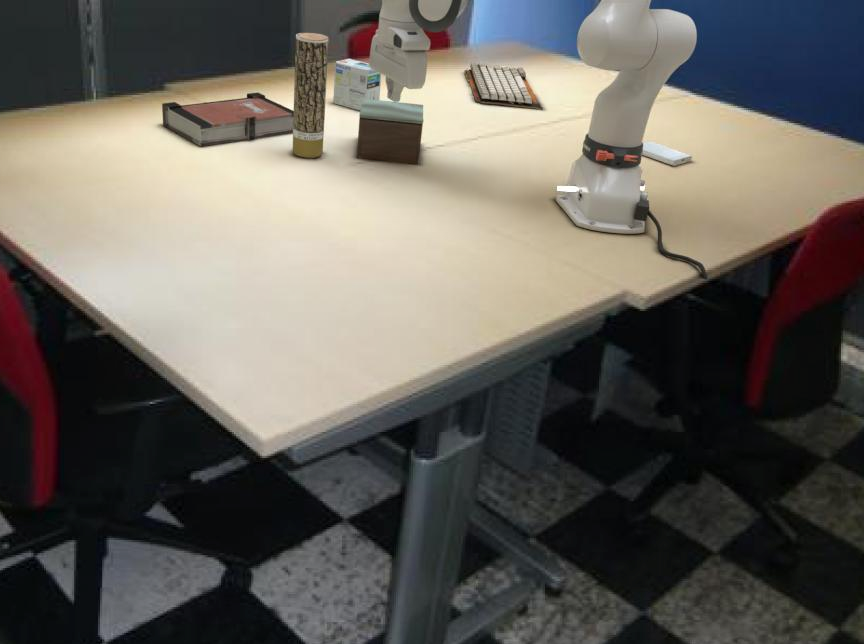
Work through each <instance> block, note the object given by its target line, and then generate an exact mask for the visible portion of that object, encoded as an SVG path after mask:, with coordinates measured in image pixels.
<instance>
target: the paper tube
mask: <svg viewBox="0 0 864 644" xmlns="http://www.w3.org/2000/svg"><path fill="white" fill-rule="evenodd" d="M294 54H295V55H294V83H293V86H294V87H293V111H294V115H293V133H292V152H293V154H294V155H295V156H297V157H300V158H305V159H315V158H318V157H321V156H322V154H323V153H324V137H325V136H324V135H325V116H326V97H327V79H328V76H327V75H328V58H329V56H328V55H329V36H327V35H325V34H322V33H316V32H299V33H296V34H295V53H294Z"/></svg>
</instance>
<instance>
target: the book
mask: <svg viewBox="0 0 864 644" xmlns="http://www.w3.org/2000/svg"><path fill="white" fill-rule="evenodd" d="M161 110H162V126H164V127H165V128H167V129H168V130H170V131H172V132H174V133H176V134H178V135H179V136H180V137H184V138H185V139H186V140H189V142H192V143H194V144H195V145H197V146H199V147H200V148H202V147H208V146H215V145H221V144H228V143H235V142H242V141H253V140H255V139H262V138H267V137H274V136H281V135H288V134H293V115H294V109H290V108H288V107H286V106H284V105H281V104H280V103H277V102H276V101H273V100H272V99H270V98H267V97H266V95H265V94H262V93H260V92H251V93H246V97H242V98H232V99H224V100H217V101H207V102H199V103H190V104H183V105H182V104H180V103H177V102H176V101H173V102H171V101H170V102H164V103H163V102H162V103H161Z"/></svg>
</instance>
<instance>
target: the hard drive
mask: <svg viewBox="0 0 864 644" xmlns="http://www.w3.org/2000/svg"><path fill="white" fill-rule="evenodd" d="M642 143H643V154H642V156H644V157H648V158H650V159H652V160H656V161H659V162H661V163H665V164H667V165H670V166H672V167H676V166H680V165H682V164H686V163H690V162H691V161H692V159H693V156H692V155H690V154H688V153H684V152H682V151H679V150H676V149H674V148H671V147H668V146H665V145H663V144H659V143H657V142H653V141H651V140H649V141H646V142H642Z"/></svg>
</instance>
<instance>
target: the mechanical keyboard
mask: <svg viewBox="0 0 864 644" xmlns="http://www.w3.org/2000/svg"><path fill="white" fill-rule="evenodd" d="M469 67H470V69H464V70H463V71H464V75H465V77H466V81H467V83H469V84H468V85H469V86H470V88H471V92H472V95H473V97H474V101H475V102H476V103H477V102H478V103H481V104H485V105H495V106H506V107H515V108H516V107H517V108H524V109H533V110H543V107H542V106H541V103H540V102H539V100H538V99H537V97H536V95H535V94H534V91H533V90H532V88H531V85H530V84H529V82H528V80H527V79H526V78H527V72H526V71H525V69H524V67H523V66H520V67H517V68H516V66H510V67H508V65H502V66H500V65H495V64H486V65H485V63H483V62H478V63H477V62H473V61H471V62H470V66H469Z"/></svg>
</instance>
